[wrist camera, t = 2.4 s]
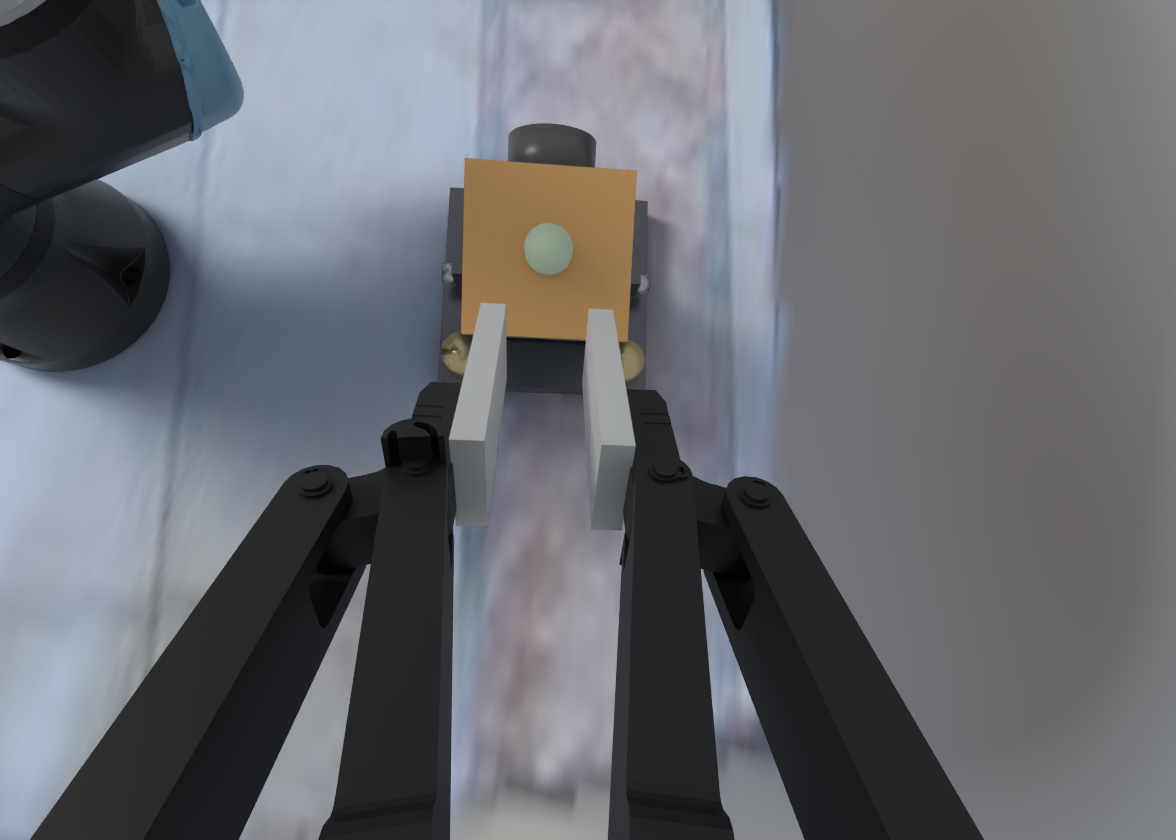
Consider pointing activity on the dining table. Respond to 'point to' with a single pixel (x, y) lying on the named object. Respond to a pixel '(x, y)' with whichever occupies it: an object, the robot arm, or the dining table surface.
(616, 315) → the box
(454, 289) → the leveling base
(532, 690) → the dining table surface
